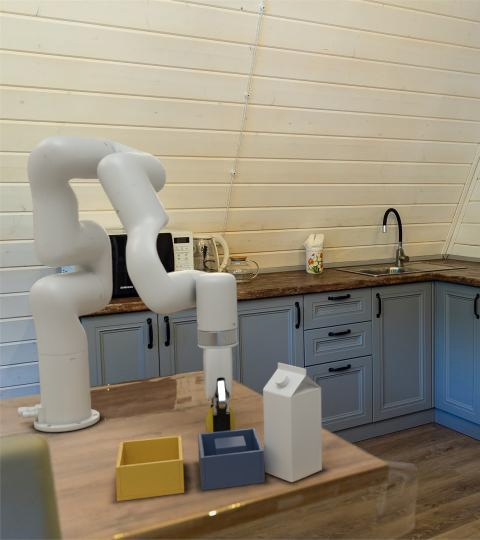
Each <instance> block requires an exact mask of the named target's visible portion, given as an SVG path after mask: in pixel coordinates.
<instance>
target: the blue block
mask: <svg viewBox="0 0 480 540" xmlns="http://www.w3.org/2000/svg"><path fill="white" fill-rule="evenodd" d="M214 442H215V455H221V454H230V453H239V452H246V443H245V440H244V437H243V436H237V437H228V438H218V439H214Z"/></svg>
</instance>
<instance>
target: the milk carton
mask: <svg viewBox="0 0 480 540" xmlns="http://www.w3.org/2000/svg"><path fill="white" fill-rule="evenodd" d="M262 402H263V405H262V407H263V445H264V447H263V450H264V473H265V474H268V475H271V476H274V477H276V478H279V479H281V480H285V481H287V482H290V483H294V482H297V481H299V480H302V479H304V478H306V477H308V476H311V475H313V474H316V473H318V472H320V471H322V470H323V433H322V432H323V431H322V430H323V427H322V424H323V423H322V387H321V386H320V385H319V384H318V383H316V382H315V381H314V380H312V378H310V377H309V376H308V374H307V368H303V367H299V366H295V365H291V364H286V363H283V362H277V368H276V370H275V372H274V373H273V374H272V376H271V377H270V379H269V380H268V381H267V382H266V384H265V385H264V387H263V388H262Z"/></svg>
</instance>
